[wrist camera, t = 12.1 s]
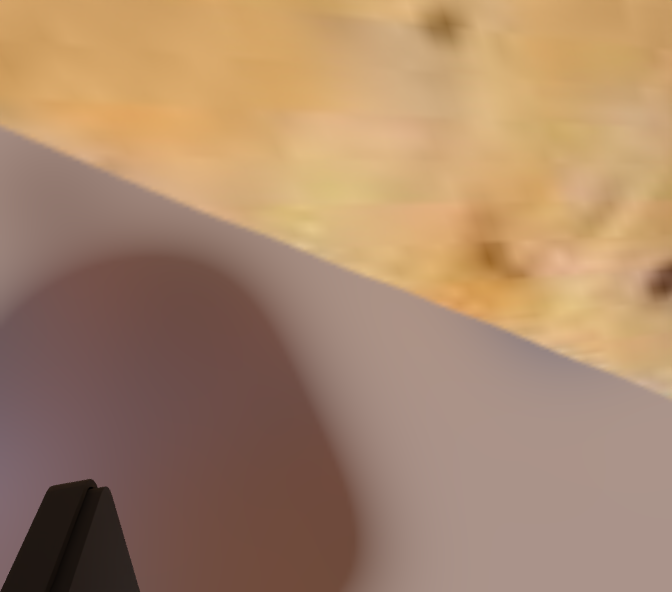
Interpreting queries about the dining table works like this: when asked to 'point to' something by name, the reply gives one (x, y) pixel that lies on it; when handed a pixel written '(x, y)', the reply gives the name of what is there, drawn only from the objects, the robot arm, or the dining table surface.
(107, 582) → the robot arm
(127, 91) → the dining table surface
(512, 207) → the dining table surface
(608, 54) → the dining table surface
